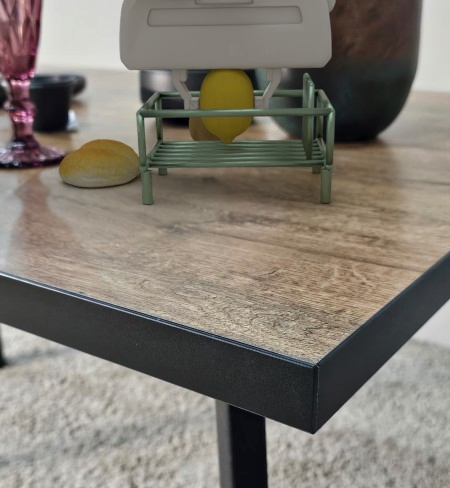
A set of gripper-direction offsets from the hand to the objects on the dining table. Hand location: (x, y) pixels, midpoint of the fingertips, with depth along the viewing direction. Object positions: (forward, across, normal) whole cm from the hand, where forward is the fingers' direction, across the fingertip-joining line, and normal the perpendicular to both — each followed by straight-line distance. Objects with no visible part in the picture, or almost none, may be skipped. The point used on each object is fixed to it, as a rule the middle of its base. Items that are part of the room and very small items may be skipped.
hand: (226, 116), depth 74 cm
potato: (+7, +2, -14) cm, 16 cm away
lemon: (+3, 0, 0) cm, 3 cm away
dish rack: (+7, -1, 0) cm, 7 cm away
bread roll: (+7, +14, -4) cm, 16 cm away
